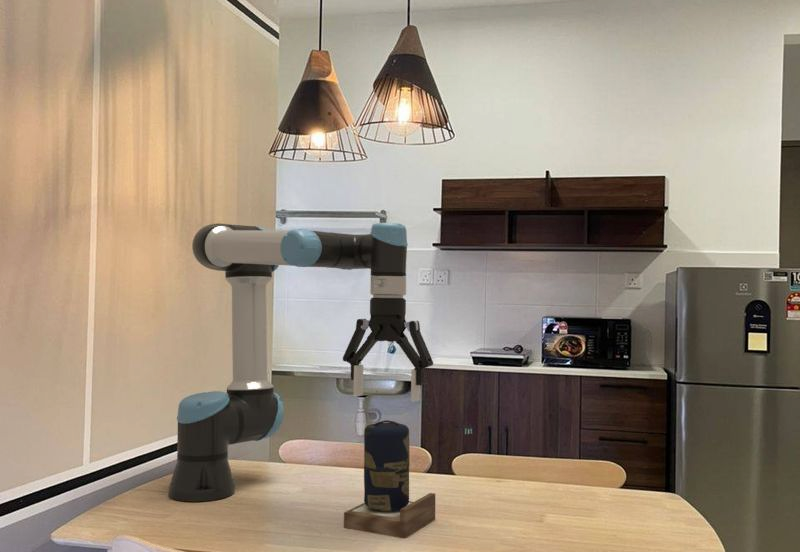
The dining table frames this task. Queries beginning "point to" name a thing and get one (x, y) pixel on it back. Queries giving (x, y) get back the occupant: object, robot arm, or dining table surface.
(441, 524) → the dining table surface
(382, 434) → the canister
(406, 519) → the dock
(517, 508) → the dining table surface
